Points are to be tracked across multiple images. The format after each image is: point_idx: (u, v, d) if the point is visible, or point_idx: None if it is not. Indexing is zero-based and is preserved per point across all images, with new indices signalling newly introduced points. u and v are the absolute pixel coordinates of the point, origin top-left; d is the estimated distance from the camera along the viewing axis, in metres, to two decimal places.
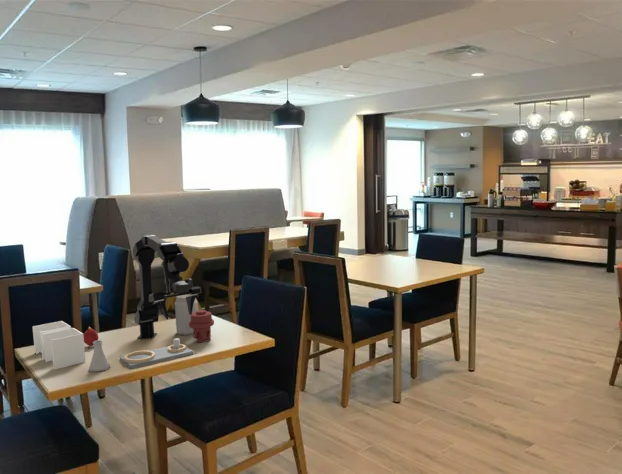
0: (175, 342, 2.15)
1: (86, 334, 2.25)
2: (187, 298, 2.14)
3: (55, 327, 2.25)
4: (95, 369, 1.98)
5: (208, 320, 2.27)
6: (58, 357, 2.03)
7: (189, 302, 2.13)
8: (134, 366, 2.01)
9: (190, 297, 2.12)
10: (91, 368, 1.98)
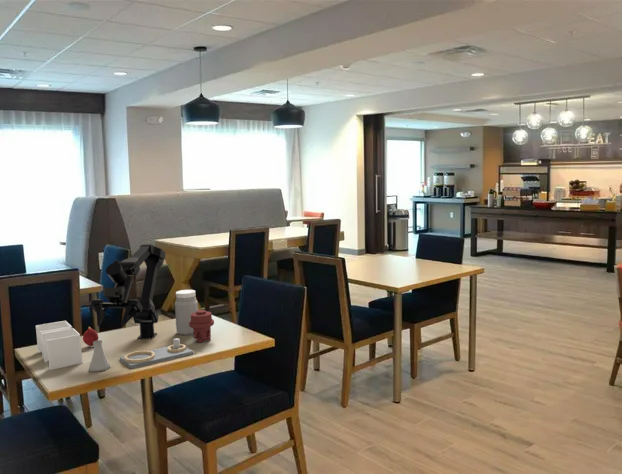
0: (175, 342, 2.15)
1: (86, 334, 2.25)
2: None
3: (58, 327, 2.25)
4: (95, 369, 1.98)
5: (208, 320, 2.27)
6: (54, 357, 2.02)
7: None
8: (134, 366, 2.01)
9: None
10: (91, 368, 1.98)
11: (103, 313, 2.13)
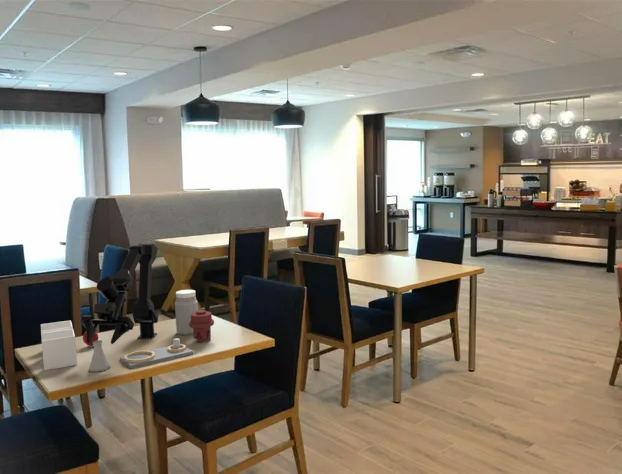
0: (175, 342, 2.15)
1: (86, 334, 2.25)
2: None
3: (63, 326, 2.26)
4: (95, 369, 1.98)
5: (208, 320, 2.27)
6: (48, 358, 2.02)
7: None
8: (134, 366, 2.01)
9: None
10: (91, 368, 1.98)
11: (93, 330, 2.07)
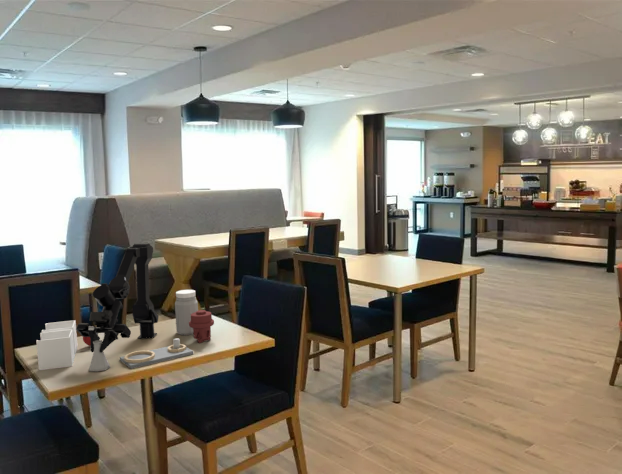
0: (175, 342, 2.15)
1: None
2: None
3: (68, 326, 2.26)
4: (95, 369, 1.98)
5: (208, 320, 2.27)
6: (43, 358, 2.02)
7: None
8: (134, 366, 2.01)
9: None
10: (91, 368, 1.98)
11: (97, 338, 2.04)
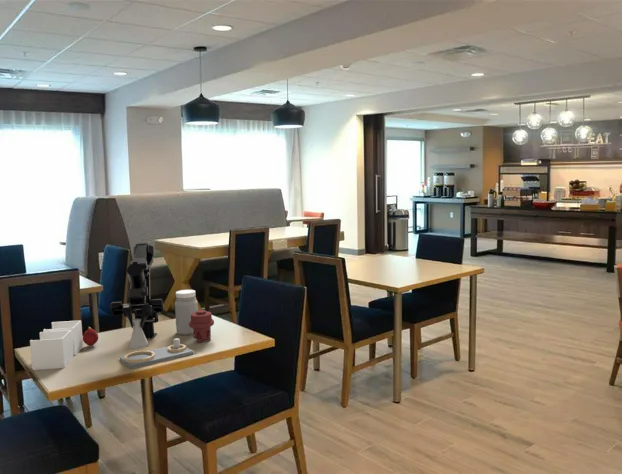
0: (175, 342, 2.15)
1: (86, 334, 2.25)
2: None
3: (73, 326, 2.26)
4: (138, 346, 2.04)
5: (208, 320, 2.27)
6: (37, 358, 2.02)
7: None
8: (134, 366, 2.01)
9: None
10: (133, 345, 2.04)
11: None
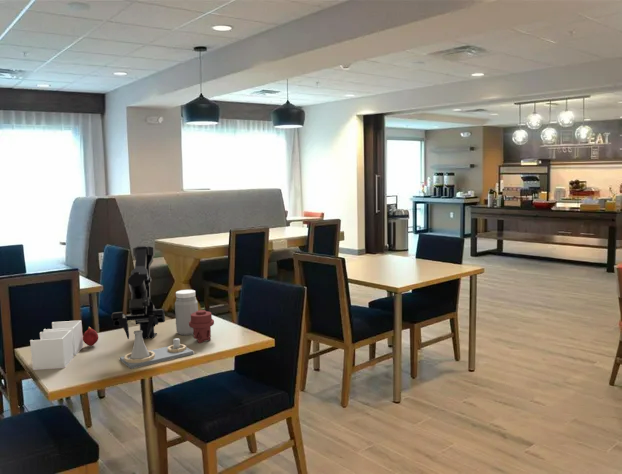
0: (175, 342, 2.15)
1: (86, 334, 2.25)
2: None
3: (74, 326, 2.26)
4: (139, 358, 2.05)
5: (208, 320, 2.27)
6: (37, 358, 2.02)
7: None
8: (134, 366, 2.01)
9: (149, 319, 2.09)
10: (135, 357, 2.05)
11: None
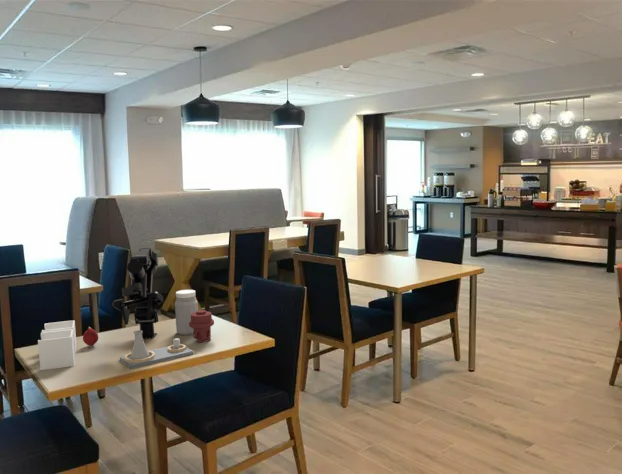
0: (175, 342, 2.15)
1: (86, 334, 2.25)
2: None
3: (67, 326, 2.26)
4: (139, 358, 2.05)
5: (208, 320, 2.27)
6: (45, 358, 2.02)
7: None
8: (134, 366, 2.01)
9: None
10: (135, 357, 2.05)
11: (127, 311, 2.20)
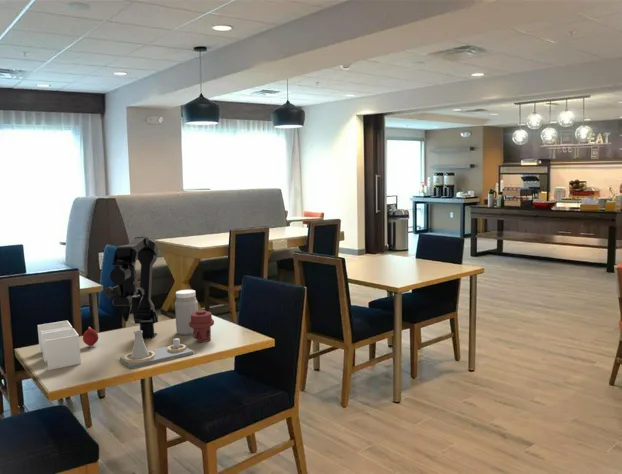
0: (175, 342, 2.15)
1: (86, 334, 2.25)
2: None
3: (60, 327, 2.26)
4: (139, 358, 2.05)
5: (208, 320, 2.27)
6: (53, 357, 2.02)
7: None
8: (134, 366, 2.01)
9: None
10: (135, 357, 2.05)
11: (137, 300, 2.24)
